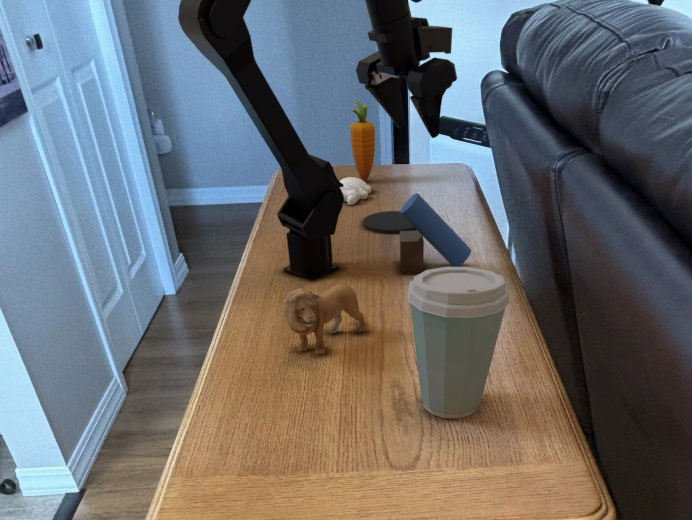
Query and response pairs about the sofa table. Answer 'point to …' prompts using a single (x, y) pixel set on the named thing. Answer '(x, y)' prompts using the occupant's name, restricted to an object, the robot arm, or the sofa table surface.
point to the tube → (435, 230)
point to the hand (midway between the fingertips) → (418, 132)
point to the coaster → (387, 222)
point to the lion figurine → (320, 313)
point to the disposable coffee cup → (455, 335)
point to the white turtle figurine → (354, 189)
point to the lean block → (411, 252)
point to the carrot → (363, 142)
